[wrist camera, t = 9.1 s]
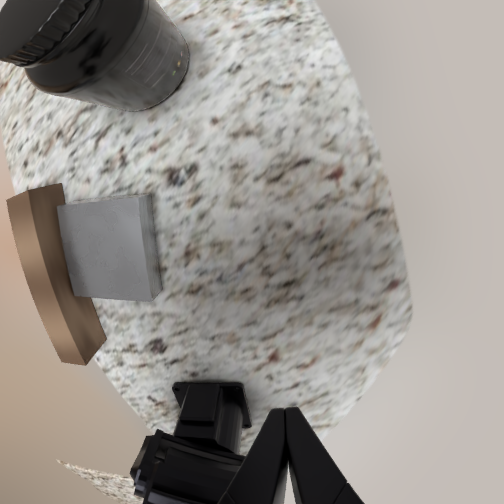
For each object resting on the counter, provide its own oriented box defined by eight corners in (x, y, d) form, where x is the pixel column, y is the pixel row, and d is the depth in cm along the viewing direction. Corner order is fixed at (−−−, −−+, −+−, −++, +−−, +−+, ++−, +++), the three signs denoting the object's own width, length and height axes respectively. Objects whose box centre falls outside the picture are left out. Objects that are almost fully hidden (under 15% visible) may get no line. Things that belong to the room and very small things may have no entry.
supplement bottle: (92, 108, 16) (-41, 92, 5) (121, 28, 14) (20, -39, 2) (174, 120, 16) (48, 78, 5) (205, 31, 14) (140, -83, 3)
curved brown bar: (106, 339, 22) (85, 365, 18) (83, 337, 22) (61, 362, 18) (61, 183, 18) (27, 190, 14) (38, 191, 18) (6, 200, 14)
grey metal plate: (163, 286, 20) (152, 301, 18) (90, 282, 21) (74, 295, 18) (153, 192, 18) (138, 197, 16) (75, 200, 19) (56, 206, 16)
